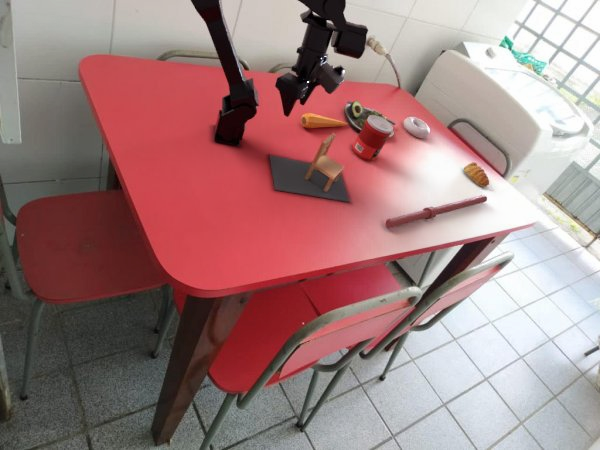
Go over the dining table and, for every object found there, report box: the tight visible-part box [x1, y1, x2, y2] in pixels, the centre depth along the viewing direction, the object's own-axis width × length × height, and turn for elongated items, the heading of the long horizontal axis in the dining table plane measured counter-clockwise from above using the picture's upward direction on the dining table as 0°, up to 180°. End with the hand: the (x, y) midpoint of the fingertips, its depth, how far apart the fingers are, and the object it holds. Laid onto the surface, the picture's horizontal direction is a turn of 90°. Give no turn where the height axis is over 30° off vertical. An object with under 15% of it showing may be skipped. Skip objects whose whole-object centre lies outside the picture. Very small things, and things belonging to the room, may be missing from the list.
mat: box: [268, 154, 351, 203], centre depth 104 cm, size 20×13×1 cm, turn 100°
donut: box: [403, 116, 431, 139], centre depth 145 cm, size 10×4×10 cm
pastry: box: [463, 161, 490, 188], centre depth 137 cm, size 9×7×4 cm
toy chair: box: [305, 132, 345, 192], centre depth 102 cm, size 7×7×12 cm
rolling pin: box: [384, 194, 488, 229], centre depth 114 cm, size 45×3×3 cm, turn 124°
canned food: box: [352, 115, 394, 162], centre depth 119 cm, size 8×8×11 cm
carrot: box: [300, 112, 350, 129], centre depth 125 cm, size 20×4×4 cm, turn 122°
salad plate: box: [343, 100, 396, 138], centre depth 136 cm, size 19×18×5 cm
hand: (294, 110), depth 100 cm, fingers open, 9 cm apart
